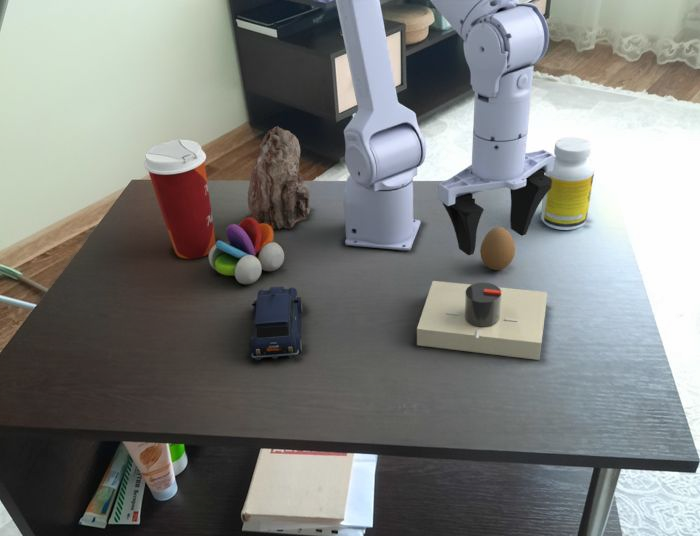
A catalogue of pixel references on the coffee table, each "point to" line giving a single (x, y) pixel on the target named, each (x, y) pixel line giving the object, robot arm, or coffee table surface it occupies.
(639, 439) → the coffee table surface
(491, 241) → the egg
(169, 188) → the coffee cup
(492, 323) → the knob
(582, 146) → the pill bottle
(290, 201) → the stone
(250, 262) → the rainbow baby rattle
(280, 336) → the toy car
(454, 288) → the cream dial panel
